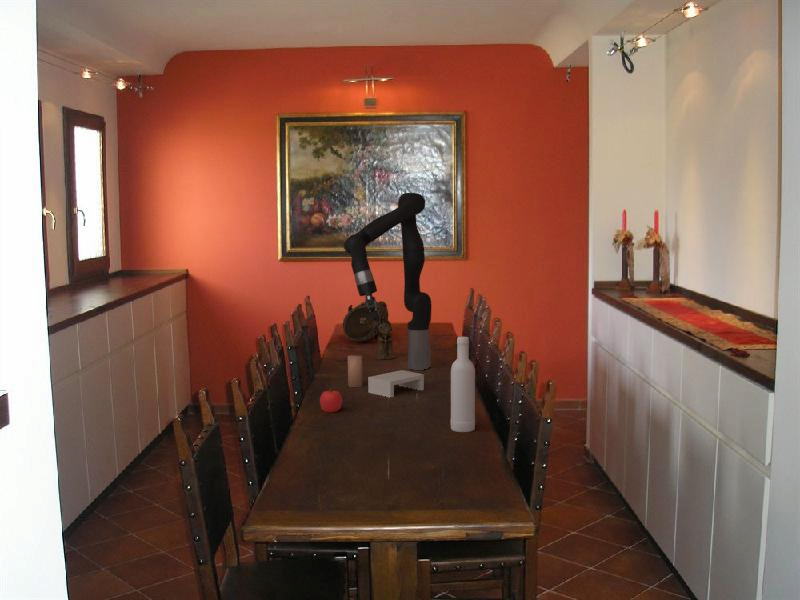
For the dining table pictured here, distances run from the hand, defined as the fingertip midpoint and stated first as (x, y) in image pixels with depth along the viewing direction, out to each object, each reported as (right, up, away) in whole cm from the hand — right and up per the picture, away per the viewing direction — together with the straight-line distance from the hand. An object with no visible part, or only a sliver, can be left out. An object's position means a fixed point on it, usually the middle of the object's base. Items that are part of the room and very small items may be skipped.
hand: (376, 320), depth 361 cm
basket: (-7, -12, +99) cm, 100 cm away
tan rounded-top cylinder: (-8, -25, -10) cm, 29 cm away
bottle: (+30, -33, -74) cm, 86 cm away
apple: (-15, -31, -49) cm, 59 cm away
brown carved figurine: (+3, -19, +45) cm, 49 cm away
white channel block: (+8, -26, -19) cm, 34 cm away
